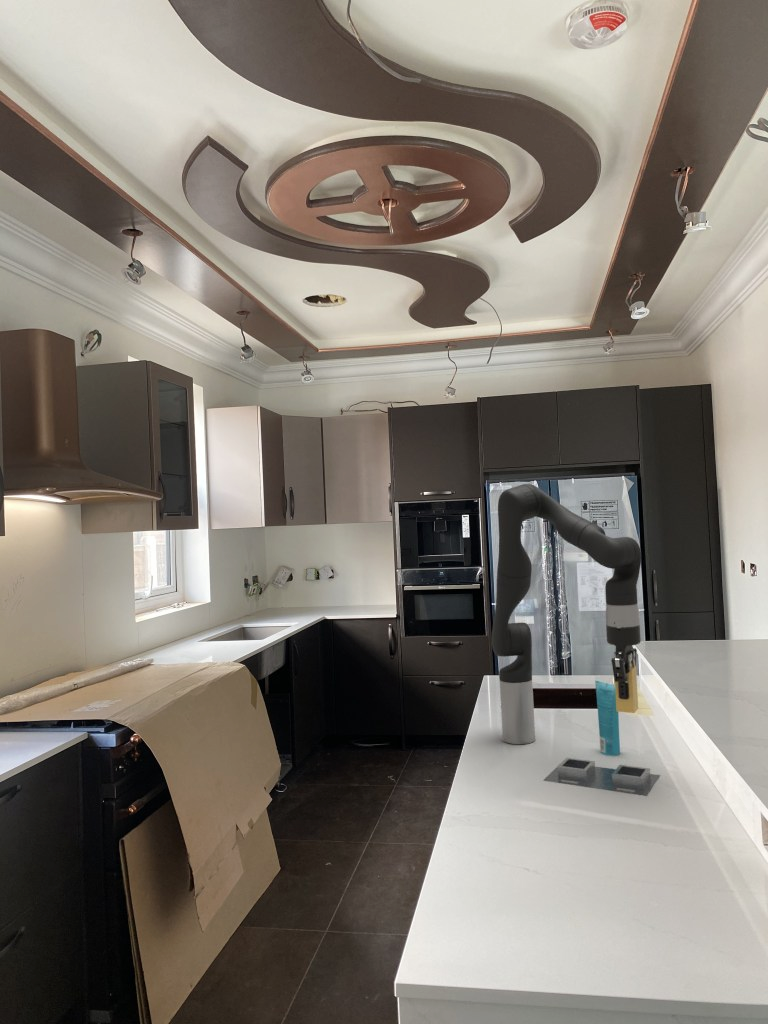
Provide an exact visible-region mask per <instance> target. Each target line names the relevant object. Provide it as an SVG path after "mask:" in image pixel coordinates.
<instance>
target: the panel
mask: <svg viewBox="0 0 768 1024" xmlns="http://www.w3.org/2000/svg"><path fill="white" fill-rule="evenodd" d="M660 777H661V774H653V773H651V769H650V768H649V767H642V766H640V767H639V766H632V765H625V764H624V765H623V764H619V765H618V766H617V767H616V768H615V769H614V768H609V767H603V766H596V762H595V761H594V760H587V759H580V758H571V757H566V758H564V760H563V761H562V762H560V763H559V764H558V766H556V767H555V768H554V769H553V770H552V771H551V772H550V773H549V774H548V775H547V776H546V777H545V778H544V779H543V780H542V781H544V782H548V783H549V782H550V783H555V784H556V783H557V784H563V785H570V786H577V787H584V788H590V789H597V790H603V791H611V792H616V793H624V794H630V795H638V796H642V797H648V795H649V794H650V793H651V791H652V789H653V787H654V786H655V784H656V783H657V782H658V780H659V778H660Z"/></svg>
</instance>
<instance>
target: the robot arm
mask: <svg viewBox="0 0 768 1024" xmlns="http://www.w3.org/2000/svg"><path fill="white" fill-rule="evenodd" d="M497 517H498V518H497V519H498V523H497V524H498V558H497V571H496V594H495V595H496V597H495V609H494V617H493V622H492V630H491V647H492V651H493V652H494V655H496V656H497V657H502V658H503V657H504V658H505V657H516V656H517V657H516V659H515V660H513V661H512V662H511V663H510V664H507V665H505V666H503V667H502V668H500V669H499V671H498V677H499V679H498V681H499V693H500V694H499V695H500V697H499V698H500V711H501V712H500V716H501V733H502V734H501V735H502V741H503V742H505V743H507V744H513V745H526V744H530V743H534V742H535V740H536V727H535V710H534V709H535V708H534V707H535V705H534V691H533V688H534V687H533V662H532V661H533V640H532V631H531V627H530V626H529V624H528V623H527V622H512V623H511V622H509V621H510V619H511V616H512V614H513V612H514V610H515V609H516V608H517V607H518V606H519V605H520V603H521V602H522V601H523V600H524V598H525V597H526V596H527V593H528V592H529V590H530V587H531V583H532V582H531V581H532V573H533V572H532V570H533V569H532V566H533V564H532V561H531V558H530V557H529V554H528V553H527V550H526V549H525V547H524V546H523V544H522V538H521V537H522V526H523V522H525V521H527V520H530V519H531V520H532V519H533V518H535V517H536V518H540V519H541V520H542V519H543V520H546V521H547V522H549V523H551V525H553V526H554V528H555V530H556V532H557V534H558V535H559V536H560V538H562V539H563V540H564V541H566V543H569V544H570V545H572V546H574V547H576V548H578V549H579V550H582V551H583V552H585V553H587V555H588V556H589V557H590V558H591V559H592V560H594V561H595V562H596V563H597V564H598V565H600V566H603V567H604V568H608V569H611V570H613V569H614V570H613V575H612V577H611V578H609V579H607V580H606V582H605V588H604V589H605V590H604V591H605V631H606V632H605V633H606V642H607V644H609V645H613V646H615V651H614V653H613V657H612V658H611V665H612V672H613V680H614V683H615V682H617V683H618V691H619V698H620V699H626V700H627V699H628V698H629V684H628V682H629V675H628V674H629V673H630V670H631V664H632V666H636V667H637V653H638V652H637V651H638V650H637V648H634V646H636V645H639V644H640V643H641V622H640V609H639V605H638V588H637V585H638V580H639V575H640V572H641V571H640V570H641V565H642V550H641V548H640V545H639V543H638V542H637V540H635V539H634V538H633V537H629V536H622V537H614V538H613V537H610V536H608V535H606V531H605V530H604V529H603V528H602V527H601V526H600V525H598V524H596V523H594V522H592V521H590V520H588V519H586V518H584V517H582V516H580V515H578V514H576V513H574V512H572V511H571V510H570V509H568V508H567V507H565V506H564V505H562V504H561V503H560V502H559V501H557V500H556V499H554V497H552V496H550V495H549V494H548V493H546V492H545V491H543V489H541V488H539V487H538V486H536V485H534V484H532V483H524V484H520V485H518V486H512V487H511V488H508V489H505V490H504V491H502V492H501V494H500V495H499V498H498V502H497ZM625 668H627V669H625ZM620 674H622V676H623V677H620Z"/></svg>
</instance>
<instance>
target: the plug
mask: <svg viewBox="0 0 768 1024" xmlns="http://www.w3.org/2000/svg"><path fill="white" fill-rule="evenodd" d="M625 669H627V668H625ZM628 675H629V682H628V684H629V698H628V699H627V700H626V699H620V698H619V691H618V683H617V682H615V681H614V685H615V692H616V711H617V712H618V713H628V714H629V713H630V714H634V713H636V712H637V711H638V710H639V699H638V698H639V695H638V680H637V679H638V677H637V665H636V666H632V664H631V670H630V673H629V674H628ZM620 677H623V676H622V674H620Z"/></svg>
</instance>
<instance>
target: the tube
mask: <svg viewBox="0 0 768 1024" xmlns="http://www.w3.org/2000/svg"><path fill="white" fill-rule="evenodd" d="M594 683H595V693H596V705H597V706H596V707H597V717H598V718H597V720H598V729H599V730H598V732H599V748H600V754H602V755H605V756H612V757H614V756H619V755H620V754H621V747H620V746H621V745H620V723H619V722H620V721H619V712H617V711H616V692H615V683H614V684H613V683H610V682H609V683H608V682H604V681H599V680H595V682H594Z"/></svg>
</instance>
